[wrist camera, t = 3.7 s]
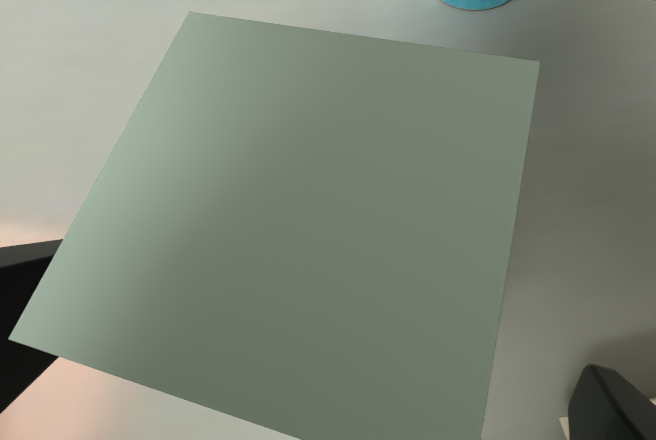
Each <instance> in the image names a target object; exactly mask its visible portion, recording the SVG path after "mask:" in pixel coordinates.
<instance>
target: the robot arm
mask: <svg viewBox="0 0 656 440" xmlns="http://www.w3.org/2000/svg"><path fill="white" fill-rule="evenodd" d="M62 241H63V239H60V240H53V241H45V242H38V243H31V244H23V245H16V246H8V247H1V248H0V414H1V413H2V412H3V411H4V410H5V409H6V408H7V407H8V406H9V405H10V404H11V403H12V402H13V401H14V400H15V399H16V398H17V397H18V396H19V395H20V394H21V393H22V392H23V391H24V390H25V389H26V388H27V387H29V386H30V385H31V384H32V383H33V382H34V381H35V380H36V379H37V378H38V377H39V376H40V375H41V374H42V373H43V372H44V371H45V370H46V369H47V368H48V367H49V366H50V365H51V364H52V363H53V362H54V361H55V360H56V359H57V358H58V357H59V356H56V355H53V354H50V353H47V352H44V351H42V350H39V349H36V348H33V347H30V346H27V345H24V344H21V343H18V342H15V341H12V340H9V337H10V335H11V333H12V331H13V329H14V328H15V326H16V324H17V322H18V320H19V319H20V317H21V315H22V313H23V311H24V310H25V308H26V306H27V304H28V302H29V301H30V299H31V297H32V295H33V293H34V292H35V290H36V288H37V286H38V284H39V282H40V281H41V279H42V277H43V275H44V273H45V272H46V270H47V268H48V266H49V264H50V263H51V261H52V259H53V257H54V255H55V254H56V252H57V250H58V248H59V246H60V245H61V243H62ZM568 425H569V440H656V405H655V404H654V403H653V402H651V401H650V400H649V399H648V398H647V397H646V396H644V395H643V394H642V393H641V392H640V391H639V390H637V389H636V388H635V387H634V386H633V385H632V384H631V383H629V382H628V381H627V380H626V379H625V378H624V377H622V376H621V375H620V374H619V373H618V372H616V371H615V370H612V369H609V368H605V367H602V366H598V365H594V364H589V365H587V366H586V367H585V368H584V369H583V371H582V374H581V376H580V378H579V381H578V383H577V385H576V388H575V390H574V393H573V395H572V397H571V400H570V403H569V407H568Z"/></svg>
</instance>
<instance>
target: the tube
mask: <svg viewBox="0 0 656 440" xmlns="http://www.w3.org/2000/svg"><path fill="white" fill-rule="evenodd" d="M442 1H443V2H445V3H447V4H449V5H451V6H453V7H456V8H461V9H467V10H485V9H490V8H494V7H498V6H500V5H502V4H504V3H506V2H507V1H509V0H442Z"/></svg>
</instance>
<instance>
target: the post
mask: <svg viewBox="0 0 656 440" xmlns="http://www.w3.org/2000/svg"><path fill="white" fill-rule="evenodd" d="M540 62H541V61H534V60H527V59H520V58H513V57H506V56H499V55H492V54H485V53H478V52H471V51H464V50H456V49H449V48H442V47H435V46H428V45H421V44H414V43H407V42H400V41H393V40H386V39H379V38H372V37H364V36H357V35H350V34H343V33H336V32H329V31H322V30H315V29H308V28H301V27H294V26H287V25H280V24H273V23H265V22H258V21H251V20H244V19H237V18H230V17H223V16H216V15H209V14H202V13H195V12H189V13H188V15H187V17H186V19H185V20H184V22H183V24H182V26H181V28H180V29H179V31H178V33H177V35H176V37H175V39H174V40H173V42H172V44H171V46H170V48H169V49H168V51H167V53H166V55H165V57H164V58H163V60H162V62H161V64H160V66H159V67H158V69H157V71H156V73H155V75H154V76H153V78H152V80H151V82H150V84H149V85H148V87H147V89H146V91H145V93H144V95H143V96H142V98H141V100H140V102H139V104H138V105H137V107H136V109H135V111H134V113H133V114H132V116H131V118H130V120H129V122H128V123H127V125H126V127H125V129H124V131H123V132H122V134H121V136H120V138H119V140H118V142H117V143H116V145H115V147H114V149H113V151H112V152H111V154H110V156H109V158H108V160H107V161H106V163H105V165H104V167H103V169H102V170H101V172H100V174H99V176H98V178H97V179H96V181H95V183H94V185H93V187H92V189H91V190H90V192H89V194H88V196H87V198H86V199H85V201H84V203H83V205H82V207H81V208H80V210H79V212H78V214H77V216H76V217H75V219H74V221H73V223H72V225H71V226H70V228H69V230H68V232H67V234H66V235H65V237H64V239H63V241H62V243H61V245H60V246H59V248H58V250H57V252H56V254H55V255H54V257H53V259H52V261H51V263H50V264H49V266H48V268H47V270H46V272H45V273H44V275H43V277H42V279H41V281H40V282H39V284H38V286H37V288H36V290H35V292H34V293H33V295H32V297H31V299H30V301H29V302H28V304H27V306H26V308H25V310H24V311H23V313H22V315H21V317H20V319H19V320H18V322H17V324H16V326H15V328H14V329H13V331H12V333H11V335H10V337H9V340H12V341H15V342H18V343H21V344H24V345H27V346H30V347H33V348H36V349H39V350H42V351H44V352H47V353H50V354H53V355H56V356H59V357H62V358H65V359H68V360H71V361H74V362H77V363H80V364H82V365H85V366H88V367H91V368H94V369H97V370H100V371H103V372H106V373H109V374H112V375H115V376H118V377H120V378H123V379H126V380H129V381H132V382H135V383H138V384H141V385H144V386H147V387H150V388H153V389H156V390H158V391H161V392H164V393H167V394H170V395H173V396H176V397H179V398H182V399H185V400H188V401H191V402H194V403H196V404H199V405H202V406H205V407H208V408H211V409H214V410H217V411H220V412H223V413H226V414H229V415H232V416H234V417H237V418H240V419H243V420H246V421H249V422H252V423H255V424H258V425H261V426H264V427H267V428H270V429H272V430H275V431H278V432H281V433H284V434H287V435H290V436H293V437H296V438H299V439H302V440H481V433H482V427H483V421H484V414H485V408H486V402H487V395H488V389H489V383H490V377H491V370H492V364H493V358H494V351H495V345H496V339H497V332H498V326H499V320H500V314H501V307H502V301H503V295H504V288H505V282H506V276H507V270H508V263H509V257H510V251H511V244H512V238H513V232H514V225H515V219H516V213H517V207H518V200H519V194H520V188H521V181H522V175H523V169H524V162H525V156H526V150H527V144H528V137H529V131H530V125H531V118H532V112H533V106H534V99H535V93H536V87H537V81H538V74H539V68H540Z"/></svg>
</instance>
